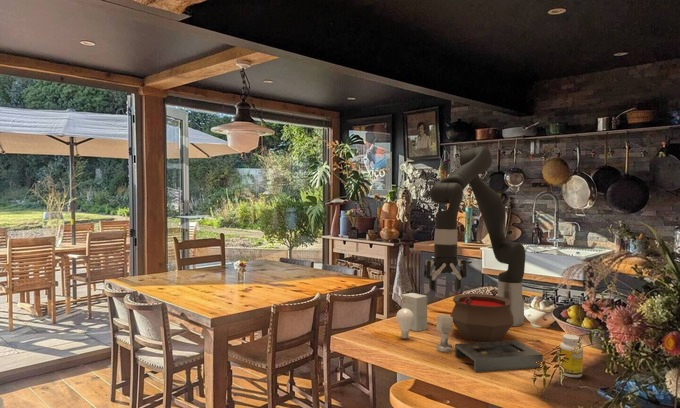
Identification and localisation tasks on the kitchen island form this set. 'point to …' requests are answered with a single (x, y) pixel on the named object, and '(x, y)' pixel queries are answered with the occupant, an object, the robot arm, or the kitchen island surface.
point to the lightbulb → (405, 321)
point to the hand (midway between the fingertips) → (444, 290)
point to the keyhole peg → (444, 332)
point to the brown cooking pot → (482, 316)
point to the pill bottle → (571, 356)
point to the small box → (416, 310)
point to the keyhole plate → (499, 355)
